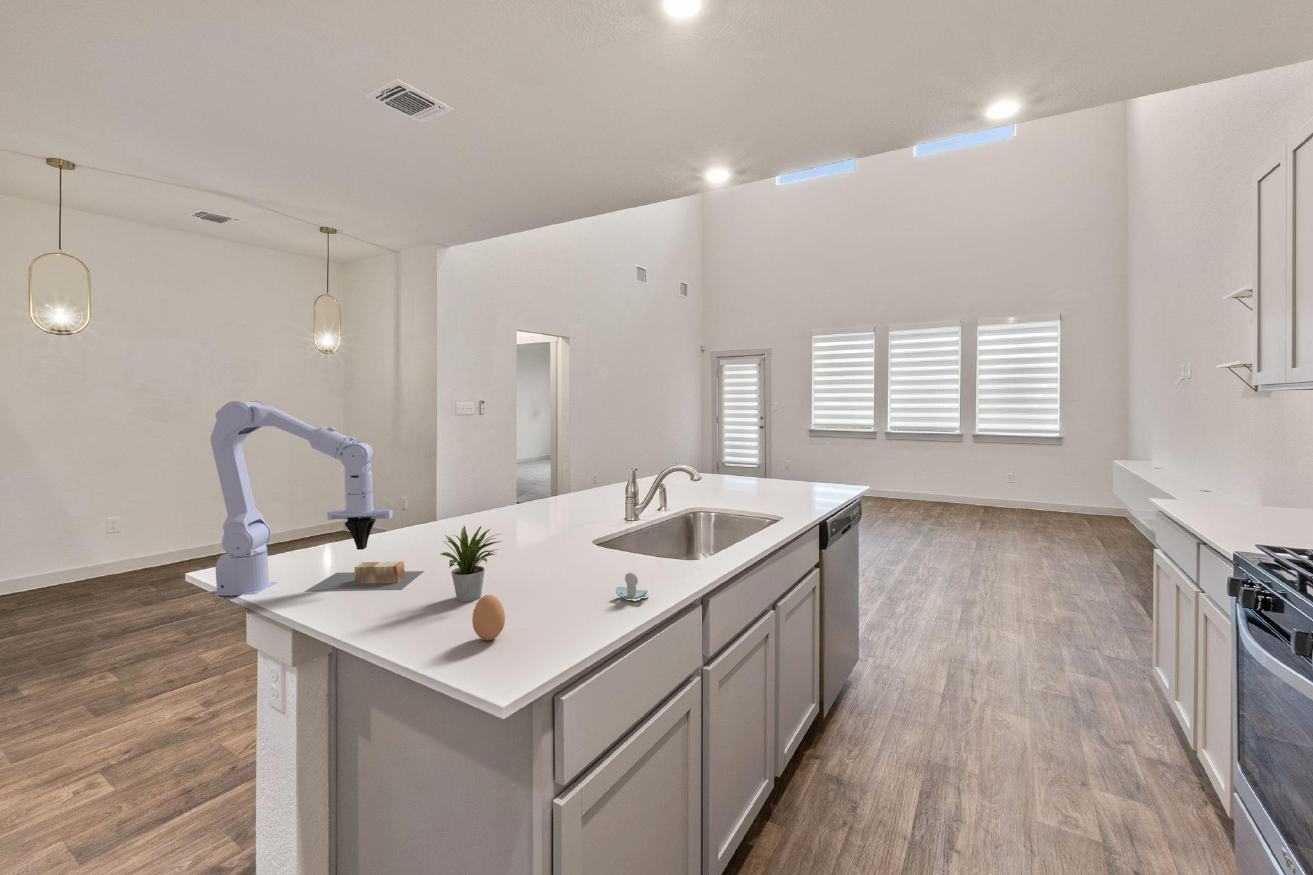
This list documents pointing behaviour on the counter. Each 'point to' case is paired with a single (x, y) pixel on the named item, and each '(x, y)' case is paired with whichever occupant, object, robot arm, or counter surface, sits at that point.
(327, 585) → the rubber mat
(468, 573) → the house plant
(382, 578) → the long block
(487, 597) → the egg
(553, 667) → the counter surface
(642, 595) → the pacifier
